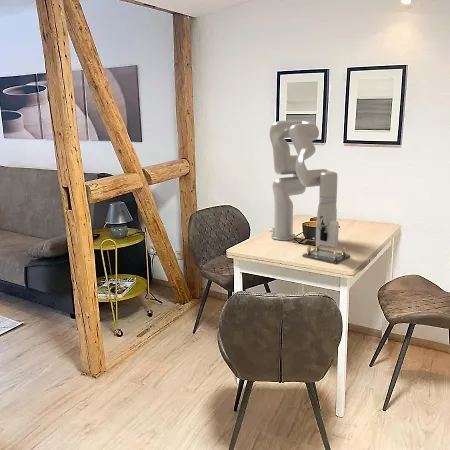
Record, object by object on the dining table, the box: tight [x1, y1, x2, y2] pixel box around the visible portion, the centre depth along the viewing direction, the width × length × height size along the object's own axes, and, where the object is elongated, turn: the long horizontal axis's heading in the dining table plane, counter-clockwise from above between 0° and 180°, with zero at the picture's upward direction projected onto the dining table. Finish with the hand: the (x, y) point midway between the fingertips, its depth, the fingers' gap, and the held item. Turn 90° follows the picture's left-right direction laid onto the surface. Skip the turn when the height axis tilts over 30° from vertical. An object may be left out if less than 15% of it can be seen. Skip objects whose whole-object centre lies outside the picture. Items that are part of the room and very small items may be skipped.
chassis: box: [302, 243, 351, 265], centre depth 214 cm, size 17×13×4 cm
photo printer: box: [315, 219, 340, 248], centre depth 212 cm, size 10×4×12 cm, turn 56°
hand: (326, 238), depth 213 cm, fingers closed on photo printer, 4 cm apart
